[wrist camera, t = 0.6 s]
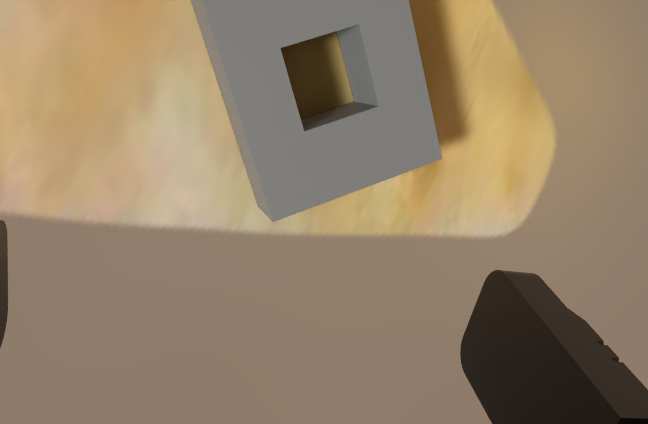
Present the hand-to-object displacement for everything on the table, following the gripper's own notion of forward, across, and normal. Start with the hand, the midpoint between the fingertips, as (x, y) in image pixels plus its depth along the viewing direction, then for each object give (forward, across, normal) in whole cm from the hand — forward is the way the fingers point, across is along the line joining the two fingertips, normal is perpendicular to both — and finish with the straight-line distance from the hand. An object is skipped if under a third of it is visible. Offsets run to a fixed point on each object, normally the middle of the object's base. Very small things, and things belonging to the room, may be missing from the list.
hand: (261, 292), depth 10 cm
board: (+24, -5, +2) cm, 25 cm away
